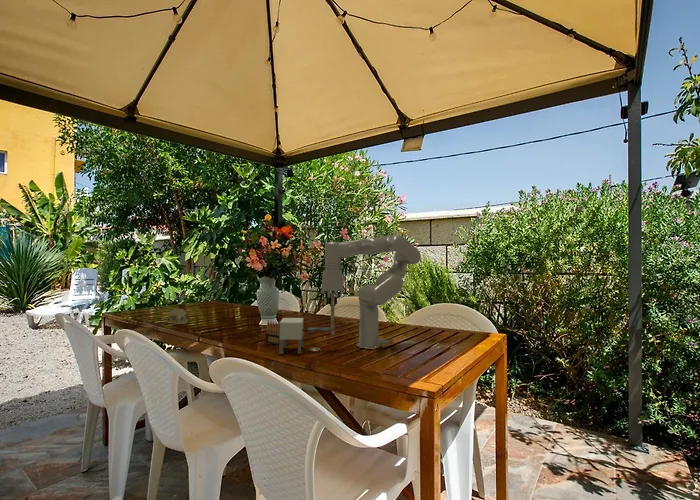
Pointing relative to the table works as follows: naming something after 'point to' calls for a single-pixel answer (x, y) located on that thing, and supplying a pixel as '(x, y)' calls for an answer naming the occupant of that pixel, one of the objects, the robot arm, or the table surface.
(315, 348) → the steel disc
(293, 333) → the cabinet
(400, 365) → the table surface
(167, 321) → the ceramic model
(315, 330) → the hook scraper
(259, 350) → the table surface
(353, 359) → the table surface
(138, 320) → the table surface
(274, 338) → the ammunition clip
